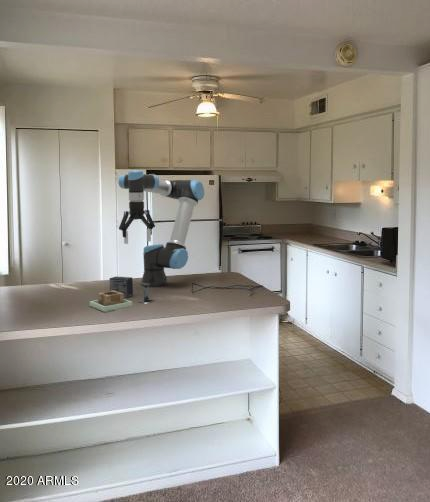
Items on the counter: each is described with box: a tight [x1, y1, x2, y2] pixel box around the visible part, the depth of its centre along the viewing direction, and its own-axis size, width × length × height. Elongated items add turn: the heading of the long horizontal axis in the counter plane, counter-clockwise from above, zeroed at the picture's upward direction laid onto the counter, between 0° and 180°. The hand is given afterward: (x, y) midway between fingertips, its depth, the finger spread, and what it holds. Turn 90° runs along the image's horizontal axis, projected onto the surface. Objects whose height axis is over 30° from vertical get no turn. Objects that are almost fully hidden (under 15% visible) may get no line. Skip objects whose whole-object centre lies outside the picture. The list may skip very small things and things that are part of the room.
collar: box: [97, 290, 125, 306], centre depth 248 cm, size 9×9×6 cm
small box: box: [109, 276, 134, 299], centre depth 268 cm, size 11×6×10 cm, turn 71°
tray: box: [89, 298, 134, 313], centre depth 249 cm, size 15×15×2 cm
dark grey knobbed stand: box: [138, 283, 155, 305], centre depth 255 cm, size 8×8×10 cm
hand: (137, 242), depth 264 cm, fingers open, 13 cm apart
